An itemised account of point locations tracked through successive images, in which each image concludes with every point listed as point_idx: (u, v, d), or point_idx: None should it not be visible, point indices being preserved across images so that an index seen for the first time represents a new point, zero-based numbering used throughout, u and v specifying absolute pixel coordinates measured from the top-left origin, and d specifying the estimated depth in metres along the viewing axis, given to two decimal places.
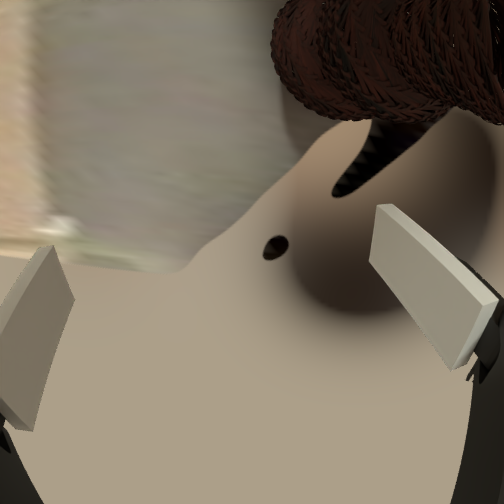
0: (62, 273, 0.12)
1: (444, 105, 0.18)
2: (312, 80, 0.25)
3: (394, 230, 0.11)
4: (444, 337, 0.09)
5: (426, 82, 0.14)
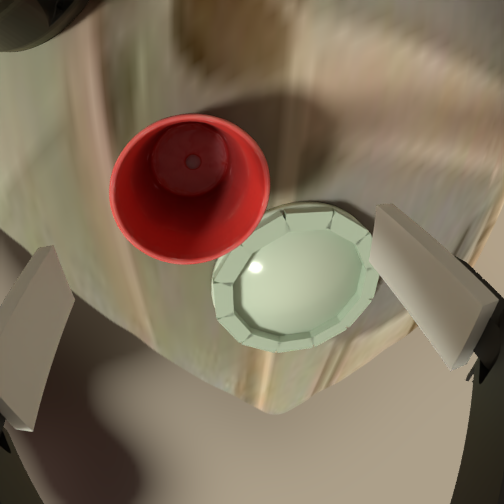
0: (62, 273, 0.12)
1: None
2: None
3: (394, 230, 0.11)
4: (444, 337, 0.09)
5: None
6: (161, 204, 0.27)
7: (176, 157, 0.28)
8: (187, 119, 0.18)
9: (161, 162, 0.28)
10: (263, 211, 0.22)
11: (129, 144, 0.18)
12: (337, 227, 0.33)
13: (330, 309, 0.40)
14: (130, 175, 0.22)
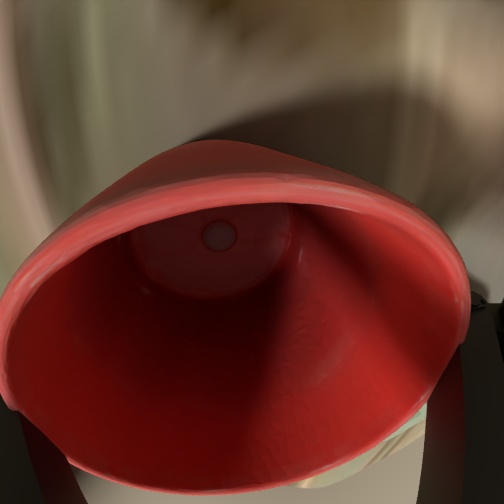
0: None
1: None
2: None
3: None
4: None
5: None
6: (160, 335, 0.13)
7: (182, 228, 0.13)
8: (230, 202, 0.04)
9: (151, 240, 0.13)
10: (419, 408, 0.07)
11: None
12: None
13: None
14: (69, 326, 0.08)
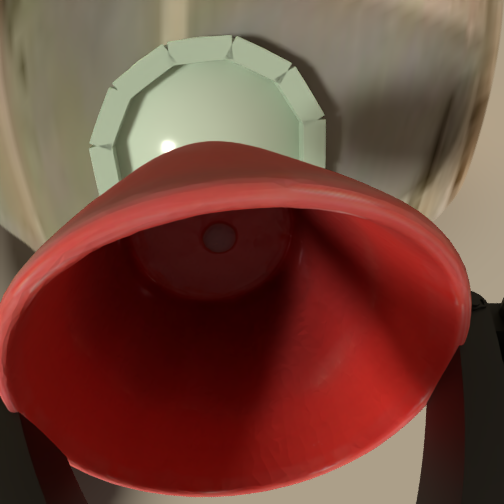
0: None
1: None
2: None
3: None
4: None
5: None
6: (160, 336, 0.13)
7: (182, 230, 0.13)
8: (230, 207, 0.04)
9: (151, 241, 0.13)
10: (419, 411, 0.07)
11: None
12: (242, 56, 0.21)
13: None
14: (68, 328, 0.08)
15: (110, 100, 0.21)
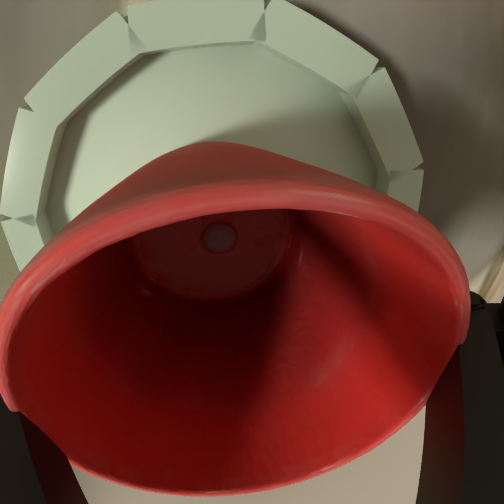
0: None
1: None
2: None
3: None
4: None
5: None
6: (160, 336, 0.13)
7: (182, 230, 0.13)
8: (231, 208, 0.04)
9: (151, 242, 0.13)
10: (419, 410, 0.08)
11: (1, 322, 0.04)
12: (286, 36, 0.10)
13: None
14: (69, 328, 0.08)
15: (22, 132, 0.10)
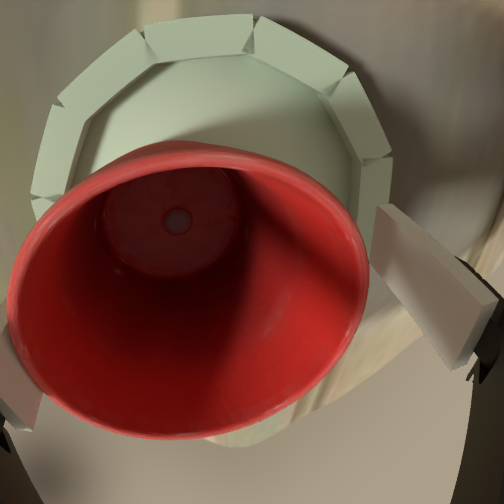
0: None
1: None
2: None
3: (393, 230, 0.11)
4: (444, 337, 0.09)
5: None
6: (132, 307, 0.15)
7: (147, 216, 0.15)
8: (169, 168, 0.06)
9: (121, 227, 0.15)
10: (347, 344, 0.10)
11: (22, 256, 0.06)
12: (270, 49, 0.12)
13: None
14: (59, 288, 0.10)
15: (55, 125, 0.12)
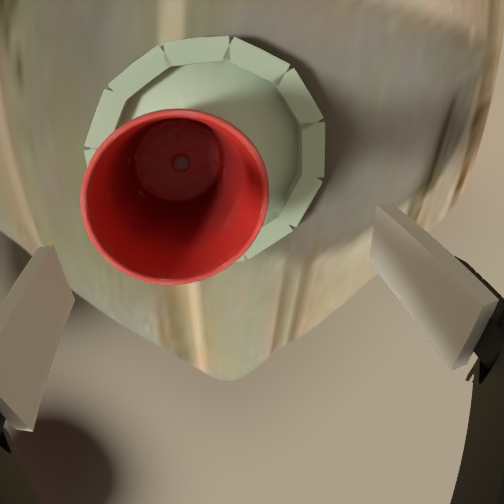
0: (63, 273, 0.12)
1: None
2: None
3: (394, 230, 0.11)
4: (444, 337, 0.09)
5: None
6: (147, 213, 0.24)
7: (162, 159, 0.24)
8: (164, 116, 0.15)
9: (145, 166, 0.24)
10: (262, 220, 0.19)
11: (98, 151, 0.15)
12: (240, 57, 0.21)
13: None
14: (106, 185, 0.19)
15: (105, 102, 0.21)
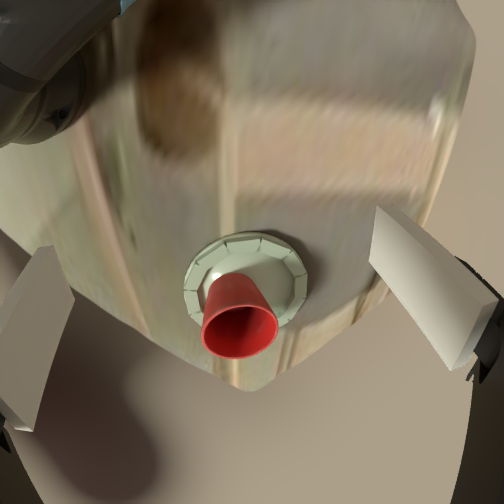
0: (63, 273, 0.12)
1: None
2: None
3: (394, 230, 0.11)
4: (444, 337, 0.09)
5: None
6: (219, 321, 0.51)
7: None
8: (238, 306, 0.41)
9: None
10: (275, 336, 0.45)
11: (211, 318, 0.41)
12: (265, 249, 0.47)
13: (274, 306, 0.55)
14: None
15: (196, 270, 0.47)
